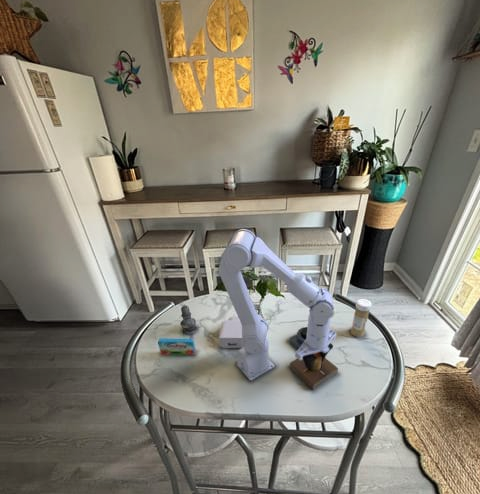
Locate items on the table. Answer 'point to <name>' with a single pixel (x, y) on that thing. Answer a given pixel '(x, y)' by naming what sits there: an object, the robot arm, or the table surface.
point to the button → (304, 332)
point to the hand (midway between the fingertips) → (313, 364)
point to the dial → (317, 362)
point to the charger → (231, 333)
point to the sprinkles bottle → (360, 317)
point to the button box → (297, 339)
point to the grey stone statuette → (187, 321)
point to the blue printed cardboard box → (177, 346)
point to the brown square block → (314, 372)
